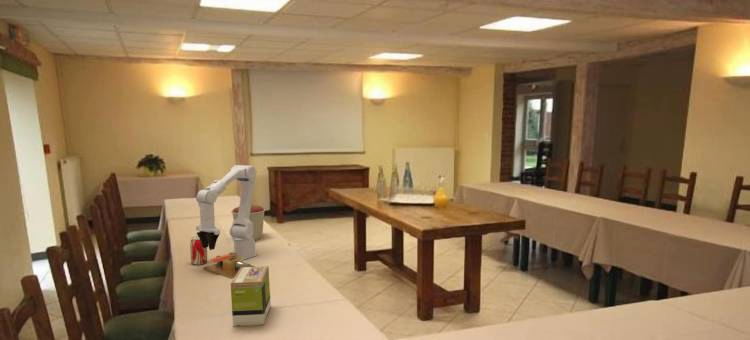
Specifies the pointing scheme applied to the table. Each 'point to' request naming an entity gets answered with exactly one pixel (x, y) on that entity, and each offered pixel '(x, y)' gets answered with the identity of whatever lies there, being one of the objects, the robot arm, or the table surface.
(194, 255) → the soda can
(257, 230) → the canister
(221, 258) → the lever
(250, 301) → the tea box
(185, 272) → the table surface
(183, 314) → the table surface
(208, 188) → the robot arm
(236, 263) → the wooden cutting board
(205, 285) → the table surface
